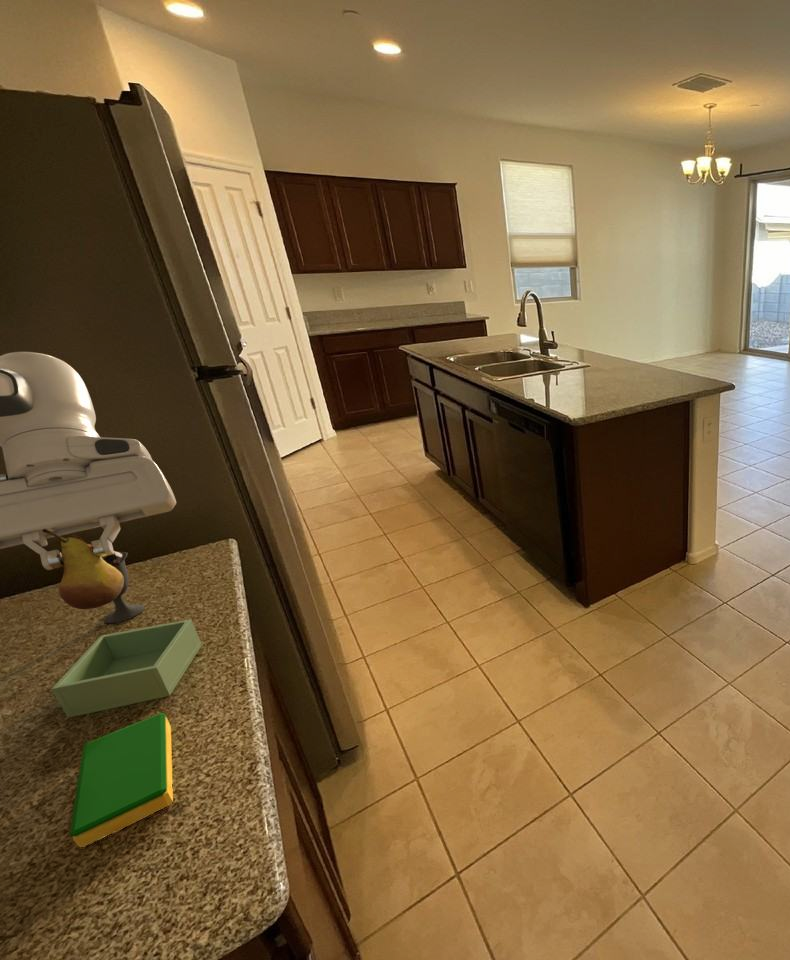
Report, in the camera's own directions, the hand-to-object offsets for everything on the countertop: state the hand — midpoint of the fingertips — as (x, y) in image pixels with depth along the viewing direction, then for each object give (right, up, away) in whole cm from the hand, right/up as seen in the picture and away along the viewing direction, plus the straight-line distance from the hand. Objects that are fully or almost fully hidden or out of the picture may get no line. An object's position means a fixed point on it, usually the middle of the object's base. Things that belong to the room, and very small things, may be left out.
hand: (80, 560), depth 64 cm
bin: (0, -18, +8) cm, 19 cm away
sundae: (-16, -12, +22) cm, 30 cm away
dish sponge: (+13, -24, -6) cm, 28 cm away
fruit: (-1, -6, +3) cm, 7 cm away
